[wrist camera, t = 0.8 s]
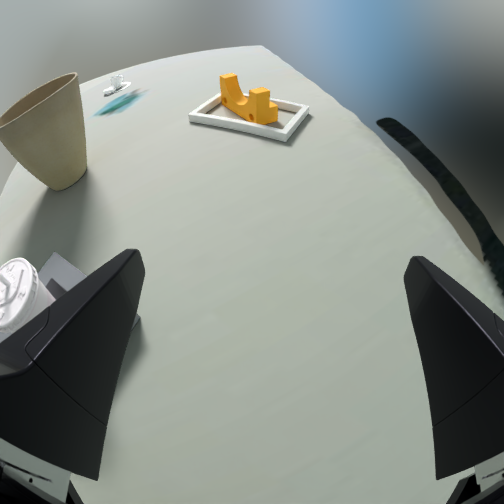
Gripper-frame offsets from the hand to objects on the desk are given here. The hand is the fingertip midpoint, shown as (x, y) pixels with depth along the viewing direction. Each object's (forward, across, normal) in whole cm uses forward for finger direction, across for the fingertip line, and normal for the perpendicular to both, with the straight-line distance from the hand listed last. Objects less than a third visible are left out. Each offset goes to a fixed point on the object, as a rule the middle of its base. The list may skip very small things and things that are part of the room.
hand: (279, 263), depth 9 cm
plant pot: (+30, +33, +8) cm, 45 cm away
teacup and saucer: (+68, +44, -4) cm, 82 cm away
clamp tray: (+44, +3, +3) cm, 44 cm away
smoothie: (+6, +20, +15) cm, 26 cm away
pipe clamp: (+46, +3, +3) cm, 46 cm away
